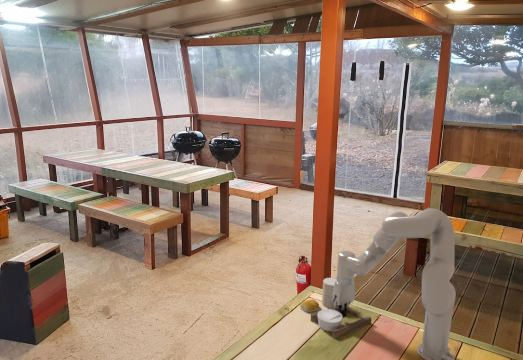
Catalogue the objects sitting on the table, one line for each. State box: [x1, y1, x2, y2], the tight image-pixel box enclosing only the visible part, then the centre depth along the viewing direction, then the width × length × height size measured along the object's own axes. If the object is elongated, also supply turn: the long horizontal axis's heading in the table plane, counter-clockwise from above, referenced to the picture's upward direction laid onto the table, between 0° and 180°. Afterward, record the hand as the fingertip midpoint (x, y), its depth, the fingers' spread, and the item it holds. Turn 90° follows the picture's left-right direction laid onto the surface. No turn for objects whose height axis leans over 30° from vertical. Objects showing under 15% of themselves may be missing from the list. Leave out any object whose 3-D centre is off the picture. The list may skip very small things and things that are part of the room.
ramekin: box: [317, 308, 344, 332], centre depth 189 cm, size 11×11×5 cm
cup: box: [321, 277, 337, 309], centre depth 207 cm, size 8×8×12 cm
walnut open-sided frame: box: [310, 306, 372, 339], centre depth 192 cm, size 16×22×3 cm
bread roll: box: [299, 299, 320, 313], centre depth 204 cm, size 8×9×4 cm
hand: (342, 316), depth 193 cm, fingers closed
